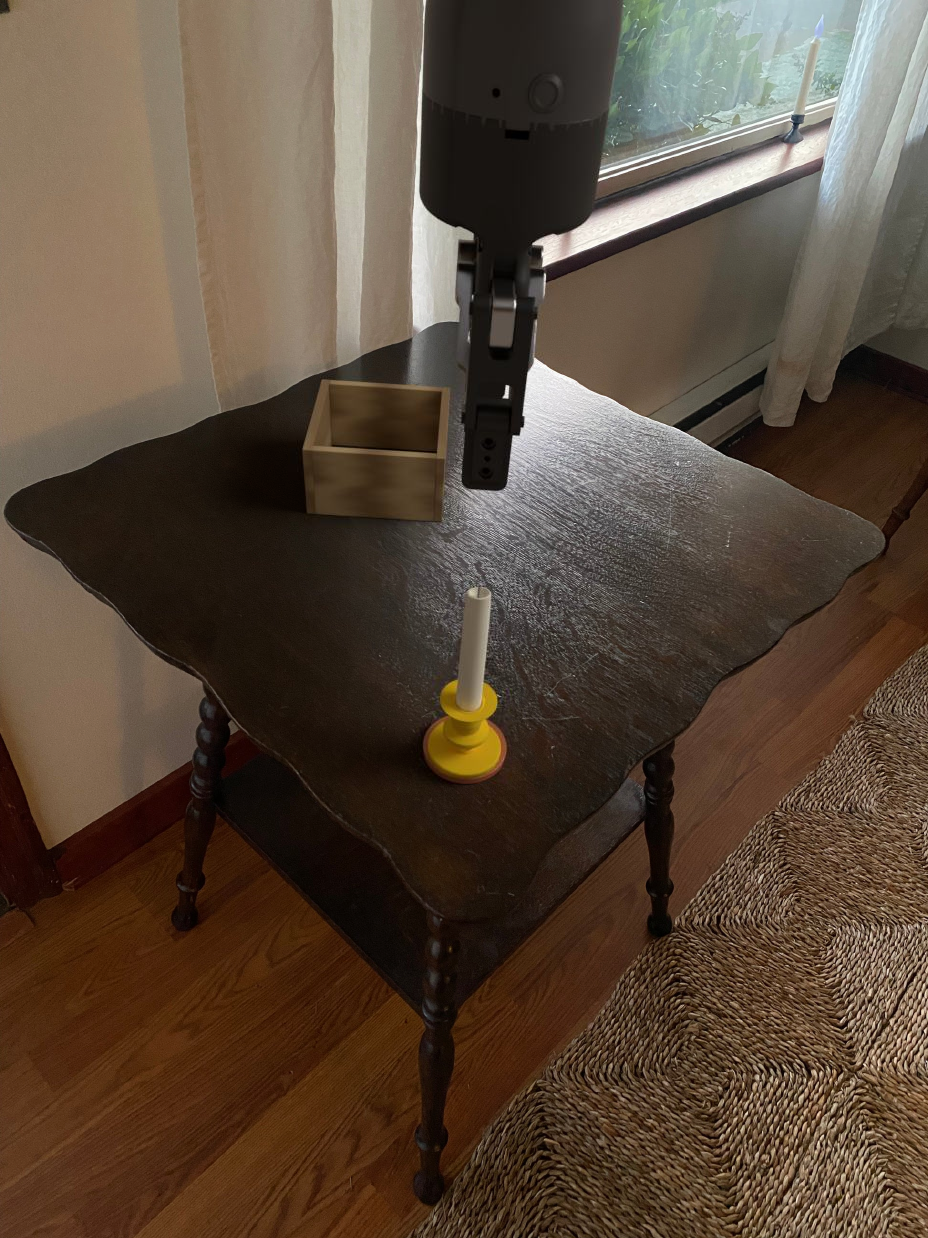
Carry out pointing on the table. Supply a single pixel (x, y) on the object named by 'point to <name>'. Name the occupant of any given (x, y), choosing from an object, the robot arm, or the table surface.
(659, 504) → the table surface
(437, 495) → the crate
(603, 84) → the robot arm
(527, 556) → the table surface
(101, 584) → the table surface
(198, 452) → the table surface
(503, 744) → the coaster
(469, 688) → the candle
